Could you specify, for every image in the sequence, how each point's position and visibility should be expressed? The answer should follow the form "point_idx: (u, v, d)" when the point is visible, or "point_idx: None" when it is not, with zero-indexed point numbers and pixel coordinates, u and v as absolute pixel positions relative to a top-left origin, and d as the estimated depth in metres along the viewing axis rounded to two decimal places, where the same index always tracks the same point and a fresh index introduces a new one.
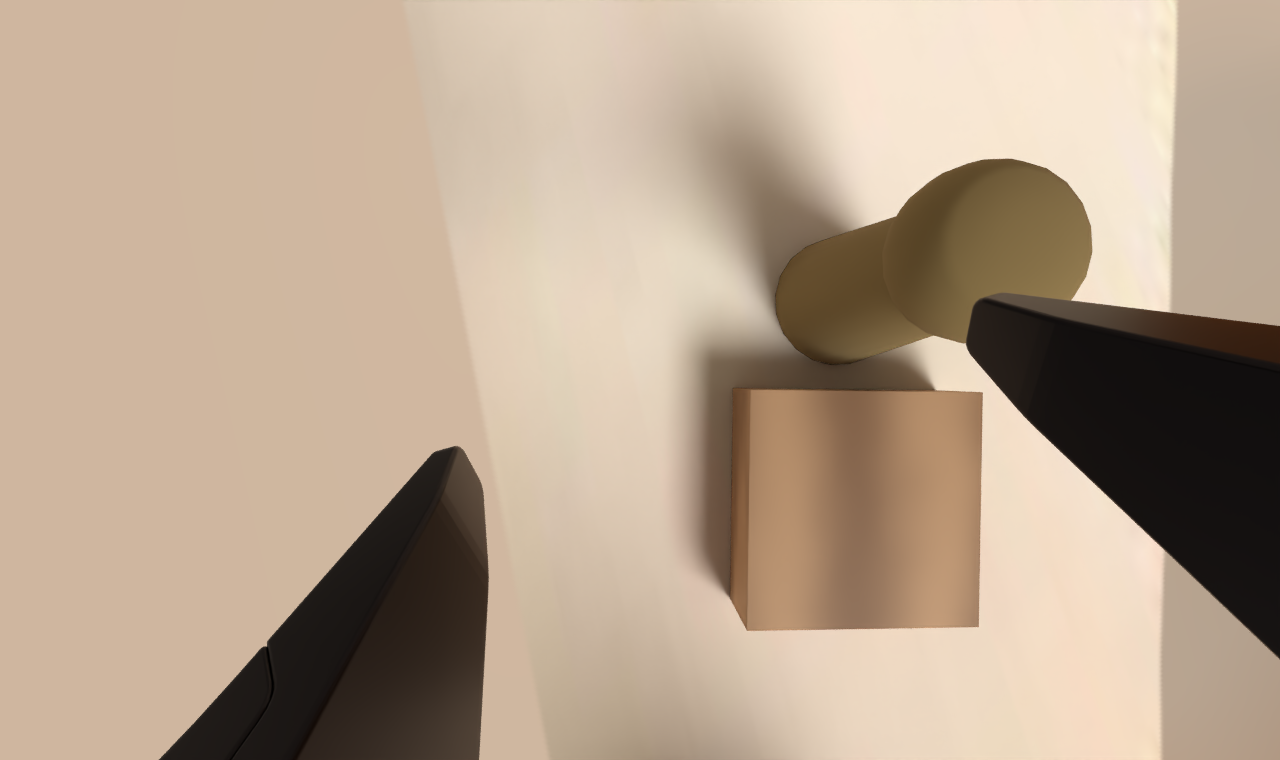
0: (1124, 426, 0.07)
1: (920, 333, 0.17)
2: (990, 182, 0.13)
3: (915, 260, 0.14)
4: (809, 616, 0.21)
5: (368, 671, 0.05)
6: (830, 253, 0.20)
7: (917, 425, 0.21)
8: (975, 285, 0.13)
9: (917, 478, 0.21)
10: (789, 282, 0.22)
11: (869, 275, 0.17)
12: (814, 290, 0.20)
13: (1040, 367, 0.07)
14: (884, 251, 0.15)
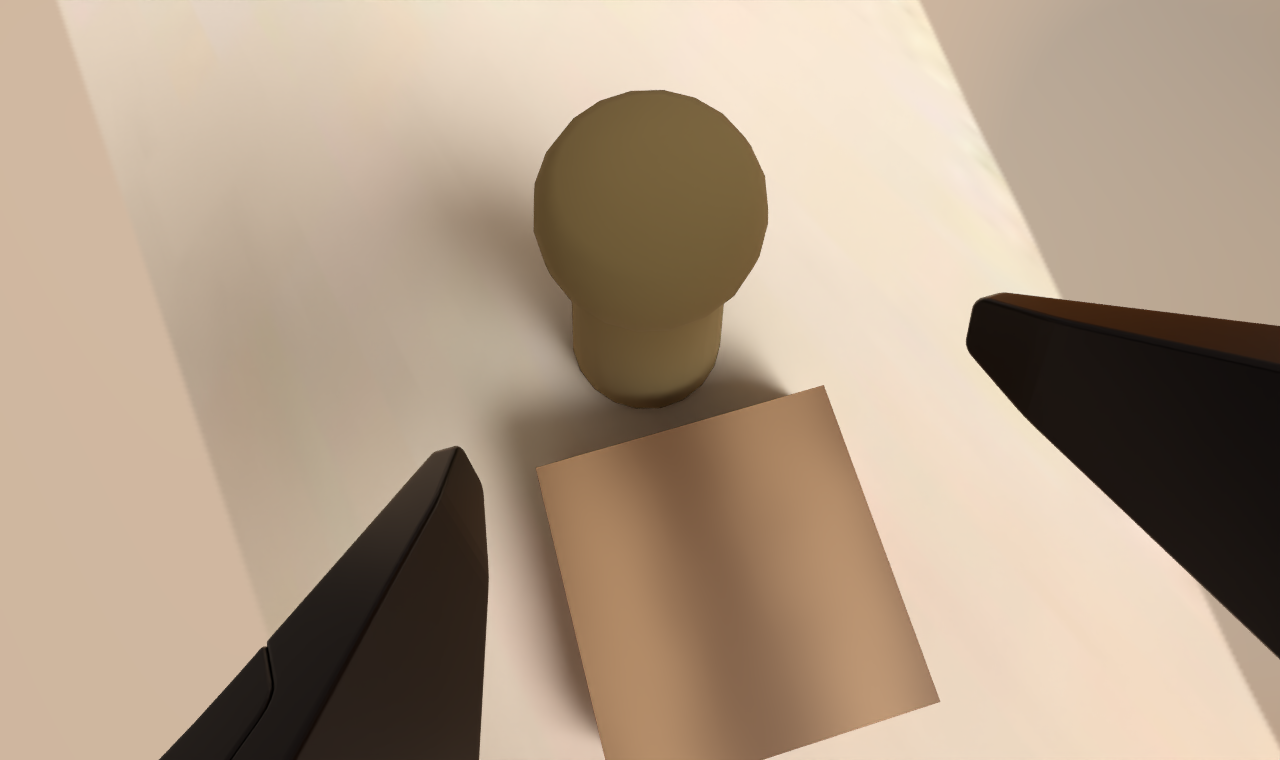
0: (1124, 426, 0.07)
1: (661, 336, 0.13)
2: (586, 123, 0.10)
3: (543, 245, 0.10)
4: (698, 757, 0.14)
5: (368, 671, 0.05)
6: None
7: (757, 449, 0.16)
8: (605, 247, 0.09)
9: (781, 517, 0.16)
10: None
11: None
12: (575, 328, 0.17)
13: (1040, 367, 0.07)
14: None
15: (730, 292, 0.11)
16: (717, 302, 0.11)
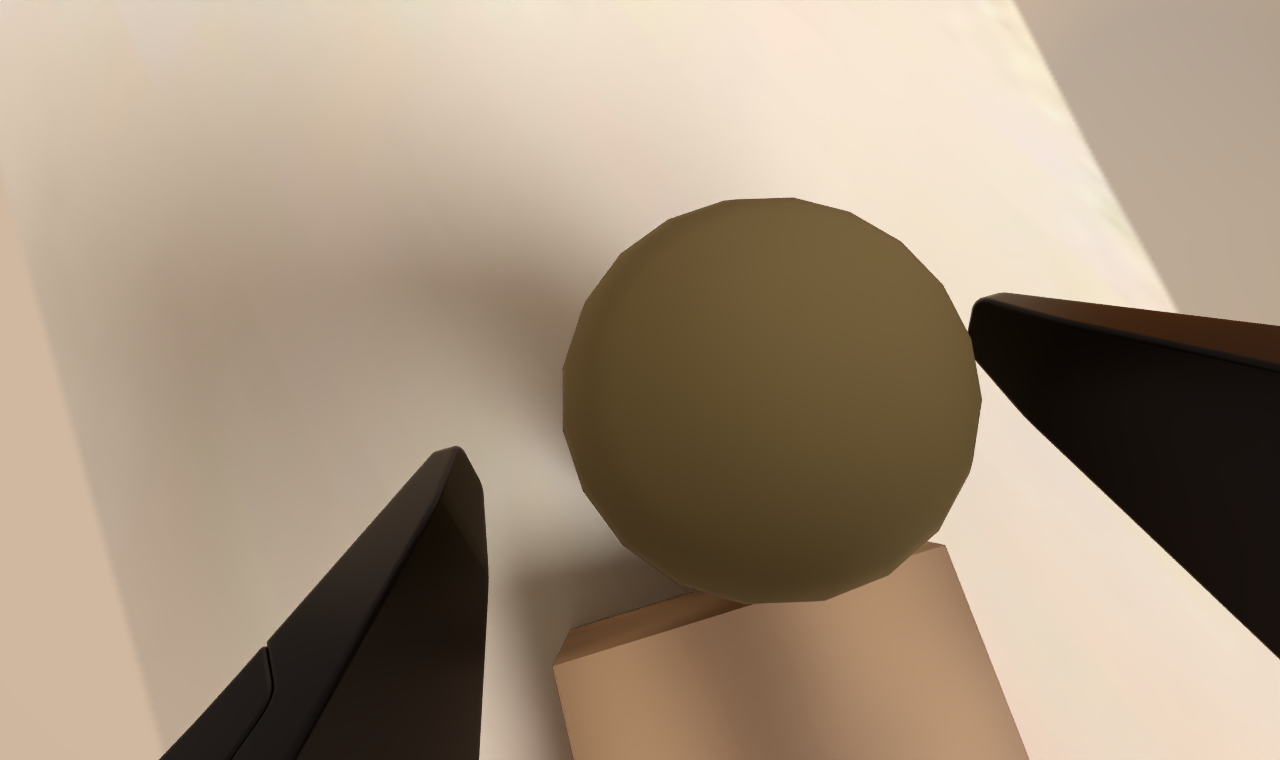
0: (1123, 426, 0.07)
1: None
2: (663, 266, 0.05)
3: (583, 475, 0.06)
4: None
5: (368, 671, 0.05)
6: None
7: (857, 639, 0.12)
8: (707, 520, 0.05)
9: (895, 740, 0.11)
10: None
11: None
12: None
13: (1040, 367, 0.07)
14: None
15: None
16: None
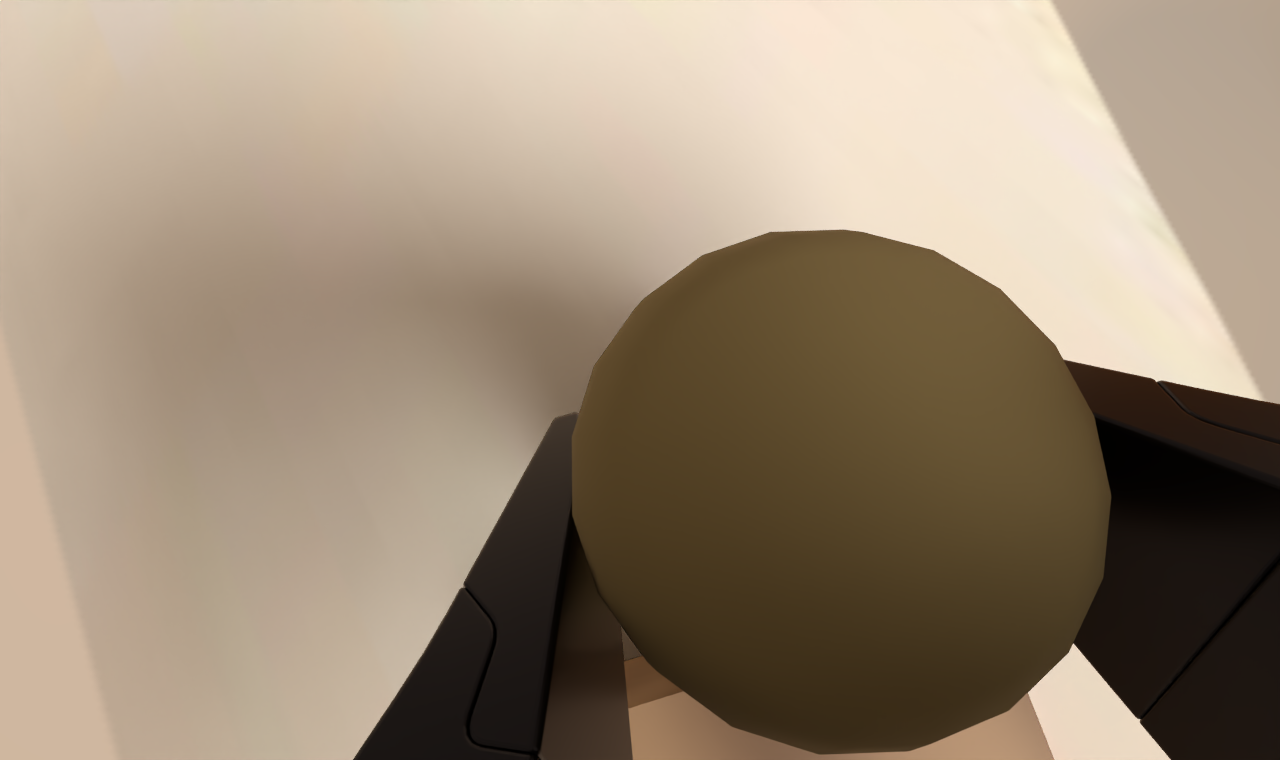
0: None
1: None
2: (703, 325, 0.04)
3: (600, 582, 0.05)
4: None
5: (571, 609, 0.05)
6: None
7: None
8: (767, 667, 0.04)
9: None
10: None
11: None
12: None
13: None
14: None
15: None
16: None
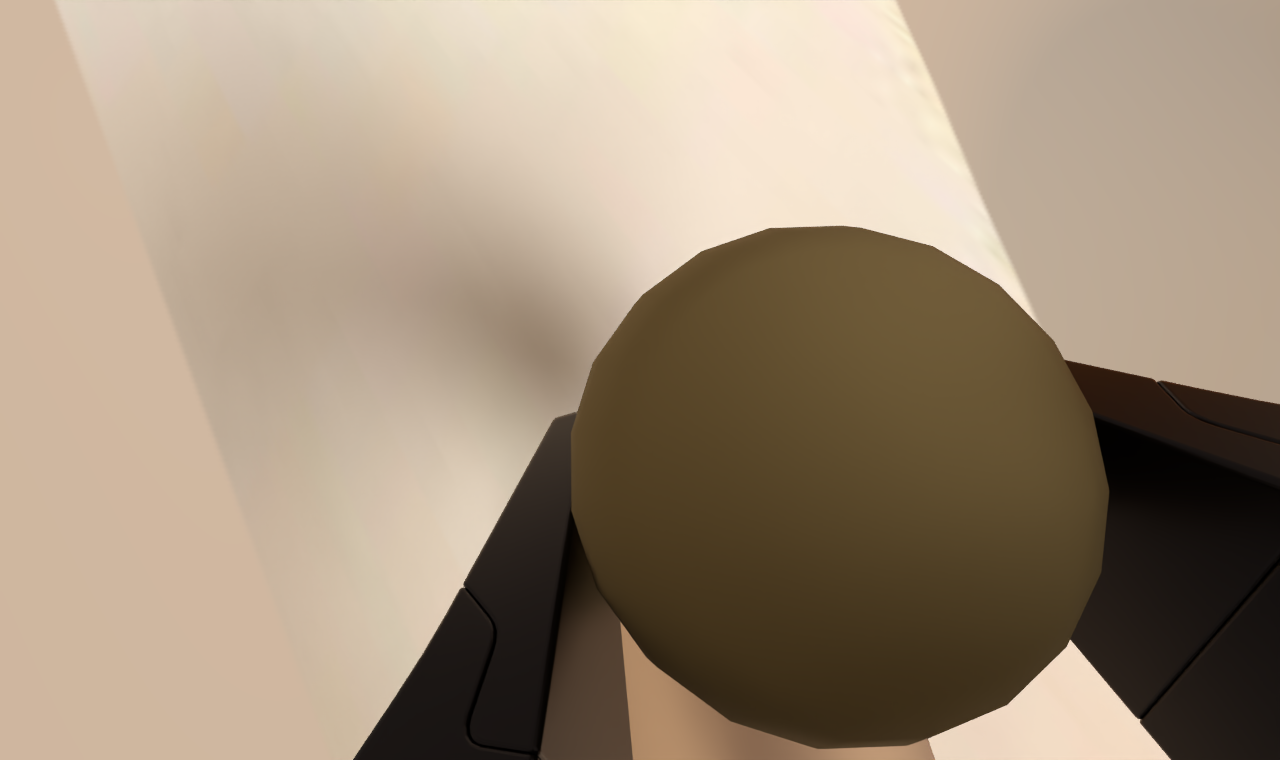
0: None
1: None
2: (702, 321, 0.04)
3: (597, 579, 0.05)
4: None
5: (571, 609, 0.05)
6: None
7: None
8: (766, 661, 0.04)
9: None
10: None
11: None
12: None
13: None
14: None
15: None
16: None
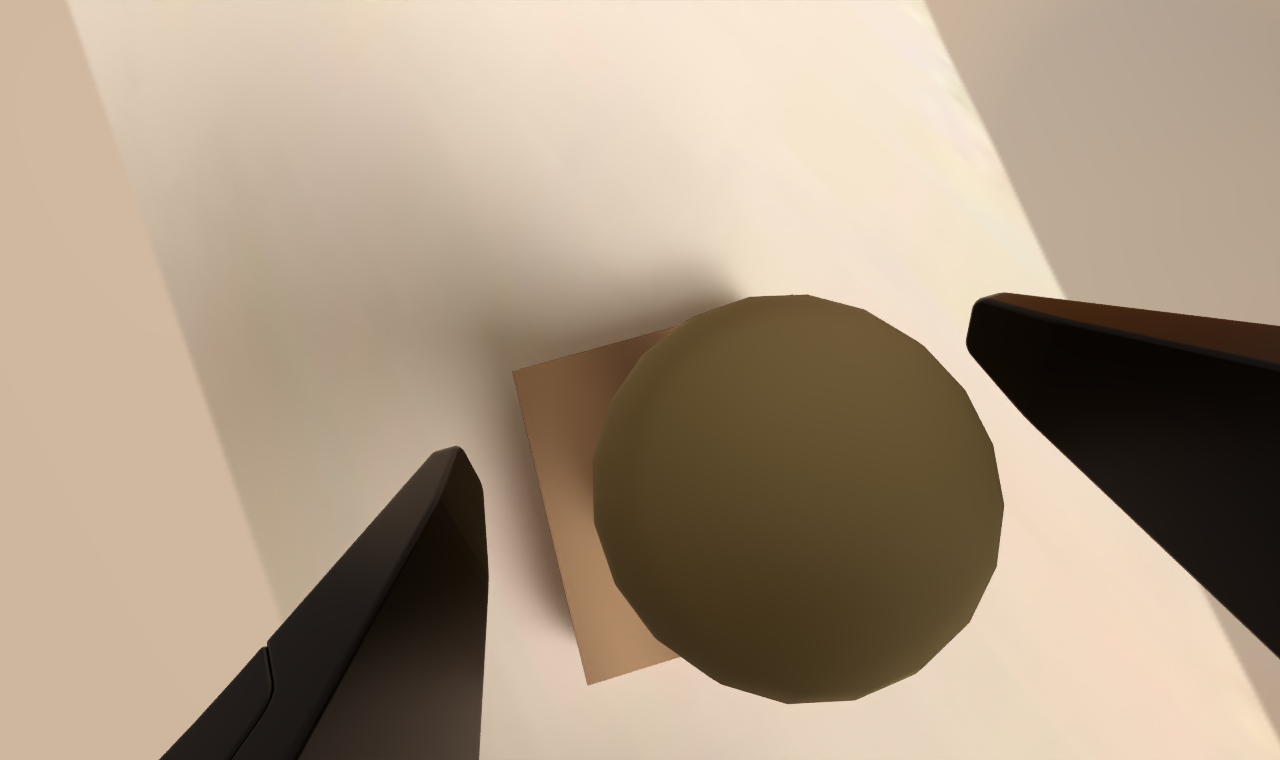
0: (1124, 426, 0.07)
1: None
2: (697, 379, 0.06)
3: (618, 576, 0.06)
4: None
5: (368, 671, 0.05)
6: None
7: None
8: (744, 635, 0.05)
9: None
10: None
11: None
12: None
13: (1040, 367, 0.07)
14: None
15: None
16: None
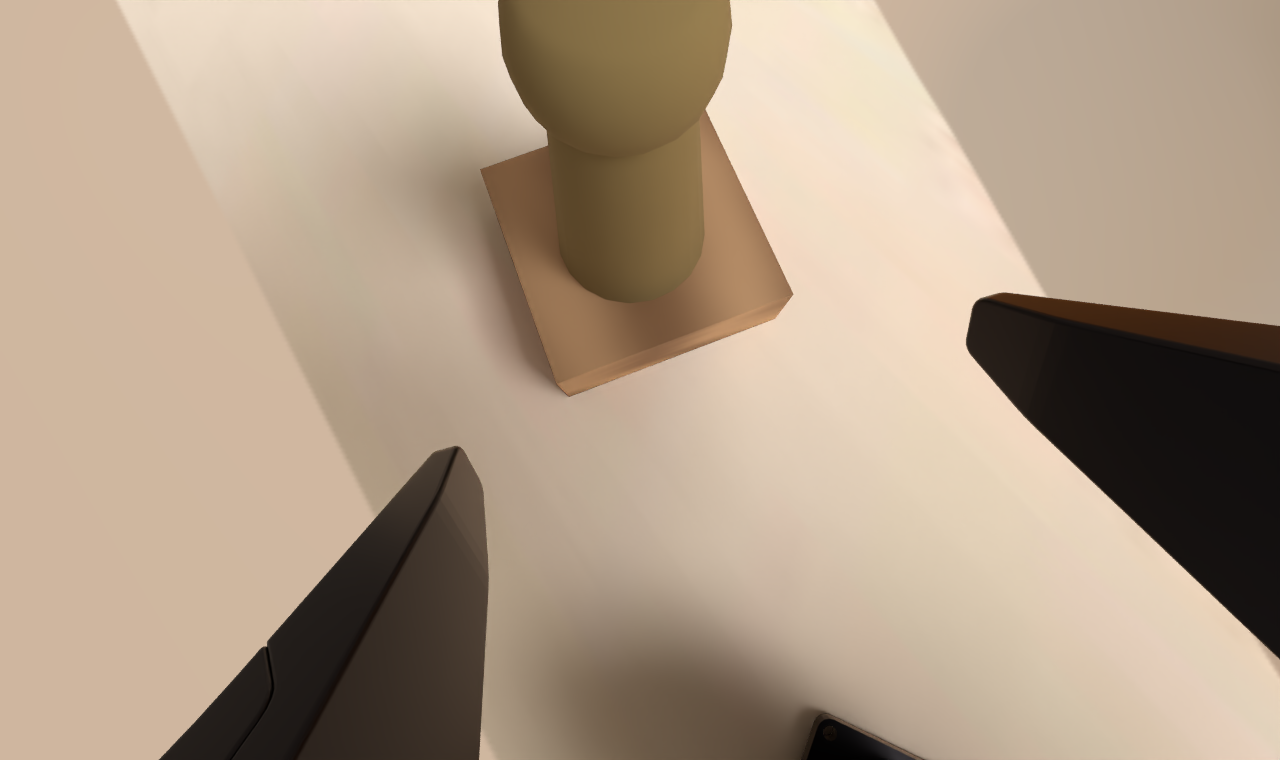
0: (1124, 426, 0.07)
1: (641, 178, 0.13)
2: None
3: (512, 58, 0.10)
4: (614, 346, 0.19)
5: (368, 671, 0.05)
6: None
7: None
8: (572, 37, 0.10)
9: None
10: (557, 229, 0.19)
11: (552, 141, 0.13)
12: (558, 212, 0.17)
13: (1040, 367, 0.07)
14: None
15: (701, 91, 0.11)
16: (690, 102, 0.11)
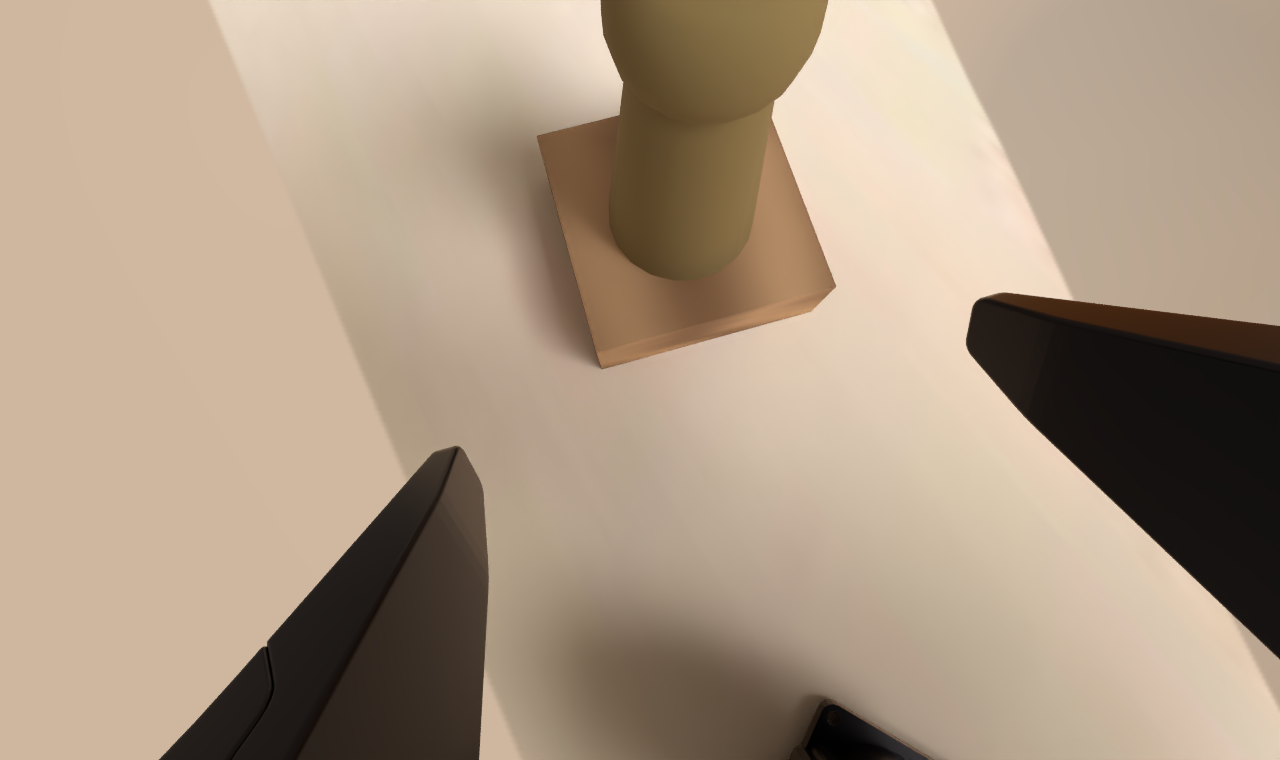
0: (1123, 426, 0.07)
1: (715, 149, 0.13)
2: None
3: (614, 13, 0.11)
4: (656, 321, 0.20)
5: (368, 671, 0.05)
6: None
7: None
8: None
9: None
10: (611, 201, 0.19)
11: (630, 106, 0.14)
12: (619, 181, 0.17)
13: (1040, 367, 0.07)
14: None
15: (794, 64, 0.11)
16: (781, 73, 0.11)
